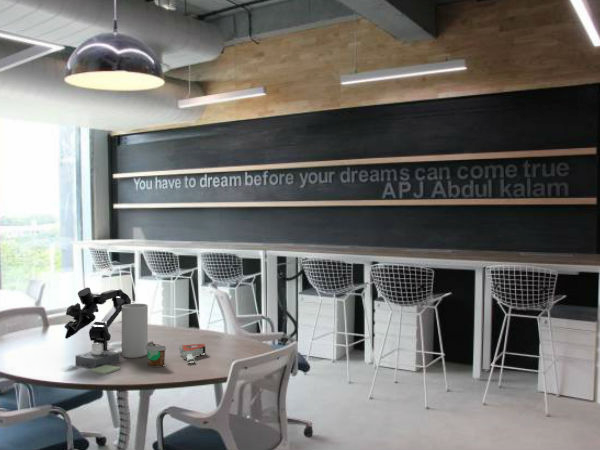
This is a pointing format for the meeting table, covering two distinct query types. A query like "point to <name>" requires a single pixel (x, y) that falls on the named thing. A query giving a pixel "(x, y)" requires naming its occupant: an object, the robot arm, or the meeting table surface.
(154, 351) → the food container
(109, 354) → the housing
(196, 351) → the grey and red box
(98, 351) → the silver upright cylinder
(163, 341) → the meeting table surface
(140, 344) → the cylinder vase
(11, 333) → the meeting table surface
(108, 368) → the mat
